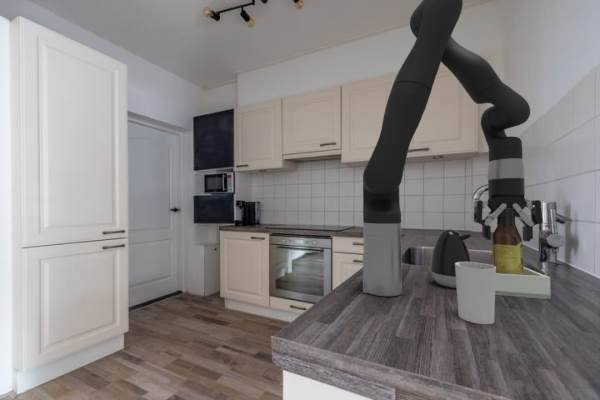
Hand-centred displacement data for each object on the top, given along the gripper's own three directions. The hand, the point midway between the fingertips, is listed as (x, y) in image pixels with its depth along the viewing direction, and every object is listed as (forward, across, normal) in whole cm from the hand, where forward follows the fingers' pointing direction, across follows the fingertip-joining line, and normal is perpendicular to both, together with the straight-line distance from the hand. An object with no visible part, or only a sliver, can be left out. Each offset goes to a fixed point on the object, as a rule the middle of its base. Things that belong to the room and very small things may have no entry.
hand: (507, 240), depth 70 cm
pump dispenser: (+13, -13, 0) cm, 18 cm away
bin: (+13, 0, 0) cm, 13 cm away
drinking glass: (+13, -14, -23) cm, 30 cm away
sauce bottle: (+12, 0, 0) cm, 12 cm away
